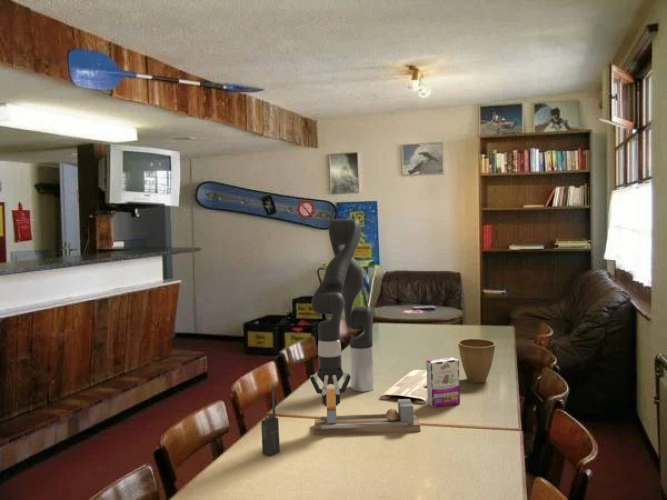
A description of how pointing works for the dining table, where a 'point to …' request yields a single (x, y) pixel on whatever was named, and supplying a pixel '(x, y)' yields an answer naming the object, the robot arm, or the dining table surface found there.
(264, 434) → the walkie-talkie
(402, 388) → the newspaper
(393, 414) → the smooth beige ball
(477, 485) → the dining table surface
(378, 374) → the dining table surface
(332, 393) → the sliding jaw
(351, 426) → the base
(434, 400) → the candy bar box
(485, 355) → the plant pot
